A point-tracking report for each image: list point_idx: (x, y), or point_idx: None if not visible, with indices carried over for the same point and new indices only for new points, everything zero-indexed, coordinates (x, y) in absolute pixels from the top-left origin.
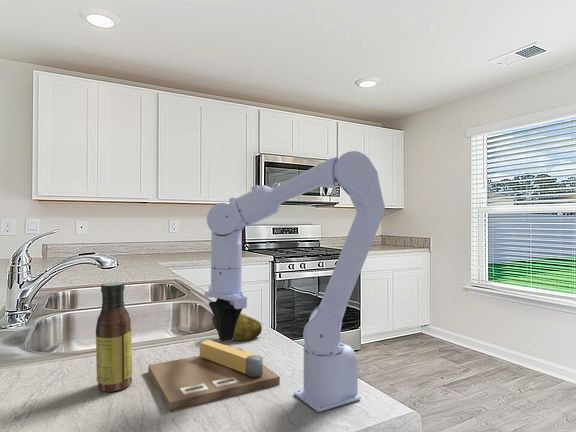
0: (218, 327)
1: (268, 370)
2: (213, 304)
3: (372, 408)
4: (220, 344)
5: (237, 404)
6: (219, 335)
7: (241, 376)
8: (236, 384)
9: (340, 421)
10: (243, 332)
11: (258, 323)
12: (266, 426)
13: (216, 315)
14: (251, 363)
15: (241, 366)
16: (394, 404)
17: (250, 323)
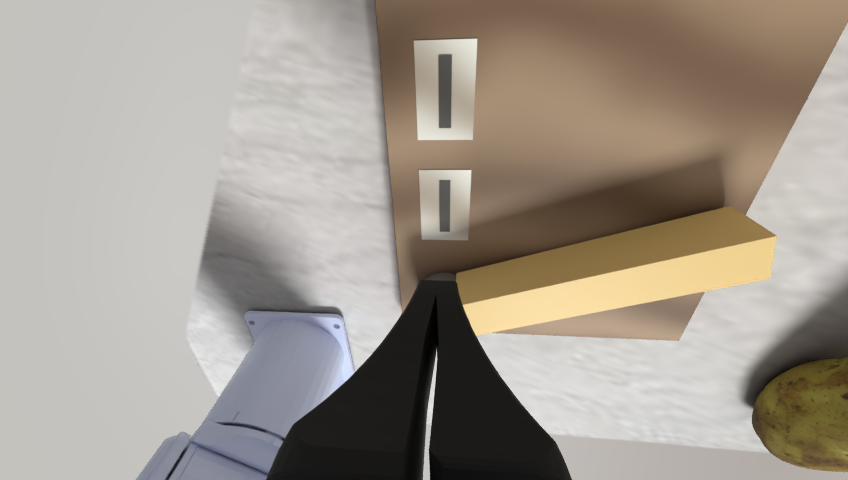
0: (438, 321)
1: None
2: (363, 475)
3: None
4: (662, 294)
5: (343, 190)
6: (438, 292)
7: (458, 258)
8: (409, 226)
9: (210, 321)
10: (790, 400)
11: (786, 459)
12: (216, 205)
13: (413, 382)
14: None
15: (475, 279)
16: None
17: (806, 446)
